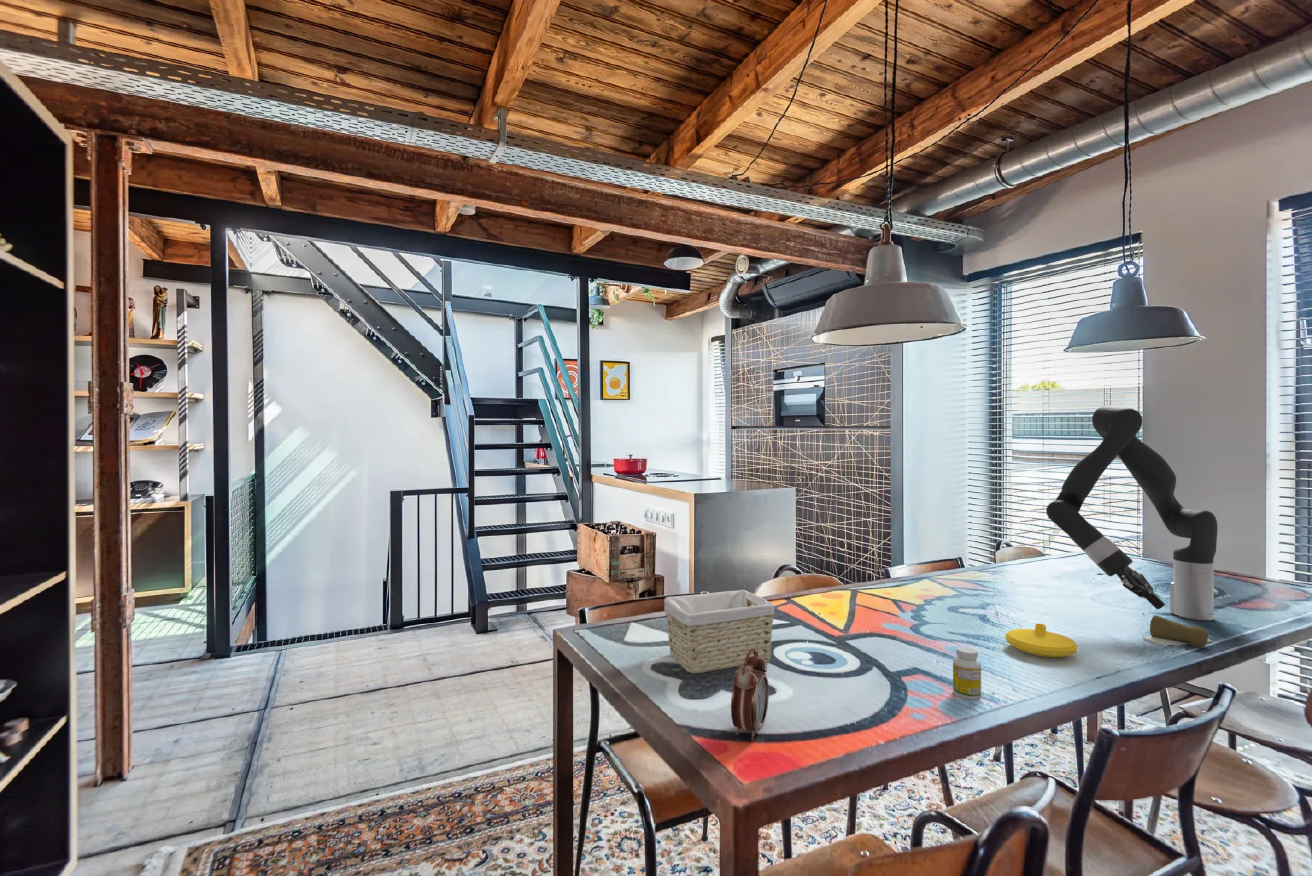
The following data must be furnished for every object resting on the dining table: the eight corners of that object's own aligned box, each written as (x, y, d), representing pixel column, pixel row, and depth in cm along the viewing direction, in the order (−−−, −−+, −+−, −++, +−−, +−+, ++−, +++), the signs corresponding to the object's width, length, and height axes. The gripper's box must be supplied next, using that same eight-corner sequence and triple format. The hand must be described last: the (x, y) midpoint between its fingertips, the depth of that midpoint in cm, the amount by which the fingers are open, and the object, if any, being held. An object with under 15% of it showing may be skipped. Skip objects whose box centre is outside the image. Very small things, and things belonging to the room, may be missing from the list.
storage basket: (686, 678, 135) (686, 613, 135) (661, 654, 150) (661, 596, 150) (777, 665, 143) (777, 603, 143) (745, 643, 158) (745, 588, 158)
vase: (1066, 645, 157) (1066, 619, 157) (1088, 667, 142) (1088, 637, 142) (998, 639, 162) (998, 613, 162) (1013, 659, 147) (1013, 630, 147)
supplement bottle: (978, 702, 122) (978, 656, 122) (950, 695, 126) (949, 650, 126) (983, 694, 126) (983, 649, 126) (956, 687, 130) (956, 643, 130)
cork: (1154, 639, 164) (1207, 653, 155) (1148, 633, 161) (1201, 646, 152) (1159, 619, 166) (1212, 631, 156) (1153, 612, 163) (1206, 624, 153)
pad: (1142, 639, 162) (1142, 637, 162) (1189, 635, 165) (1189, 633, 165) (1163, 646, 156) (1164, 644, 156) (1212, 642, 159) (1212, 640, 159)
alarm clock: (754, 747, 104) (754, 662, 104) (728, 741, 106) (728, 658, 106) (769, 721, 114) (770, 643, 114) (745, 716, 116) (745, 639, 116)
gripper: (1112, 551, 166) (1169, 603, 157) (1124, 545, 175) (1179, 595, 165) (1089, 566, 170) (1143, 619, 161) (1103, 561, 179) (1155, 610, 169)
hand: (1161, 607), depth 163 cm, fingers closed
